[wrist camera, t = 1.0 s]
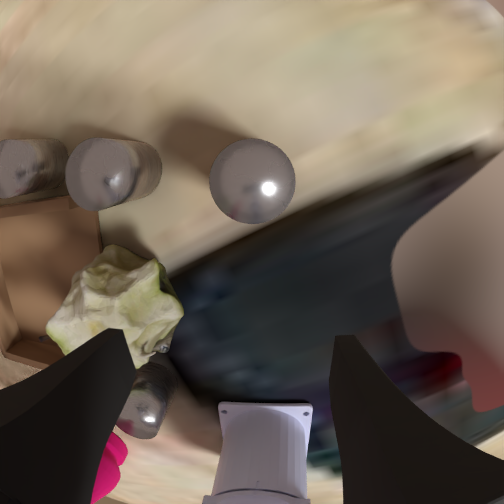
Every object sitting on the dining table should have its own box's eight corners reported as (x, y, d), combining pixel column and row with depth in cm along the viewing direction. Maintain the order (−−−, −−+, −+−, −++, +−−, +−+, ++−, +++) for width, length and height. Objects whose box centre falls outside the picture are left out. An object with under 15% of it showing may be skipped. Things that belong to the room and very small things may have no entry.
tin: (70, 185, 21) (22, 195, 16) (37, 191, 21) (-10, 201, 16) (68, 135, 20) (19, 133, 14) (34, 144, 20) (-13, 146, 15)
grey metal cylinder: (292, 207, 20) (296, 223, 15) (230, 208, 20) (211, 225, 15) (290, 145, 19) (294, 137, 14) (227, 147, 19) (207, 141, 14)
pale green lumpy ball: (93, 328, 25) (33, 364, 17) (105, 225, 23) (32, 235, 15) (186, 368, 24) (141, 426, 16) (210, 257, 22) (159, 284, 14)
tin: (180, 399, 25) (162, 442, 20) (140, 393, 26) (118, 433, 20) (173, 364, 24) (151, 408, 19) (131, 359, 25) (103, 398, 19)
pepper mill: (84, 446, 30) (19, 554, 11) (74, 411, 28) (-11, 532, 9) (134, 466, 30) (79, 589, 11) (129, 433, 28) (56, 577, 9)
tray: (126, 362, 25) (109, 385, 21) (22, 341, 26) (3, 357, 23) (96, 191, 21) (68, 197, 17) (-9, 207, 22) (-34, 214, 19)
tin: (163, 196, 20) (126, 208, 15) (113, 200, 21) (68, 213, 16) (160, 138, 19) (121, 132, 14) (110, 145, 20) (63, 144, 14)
